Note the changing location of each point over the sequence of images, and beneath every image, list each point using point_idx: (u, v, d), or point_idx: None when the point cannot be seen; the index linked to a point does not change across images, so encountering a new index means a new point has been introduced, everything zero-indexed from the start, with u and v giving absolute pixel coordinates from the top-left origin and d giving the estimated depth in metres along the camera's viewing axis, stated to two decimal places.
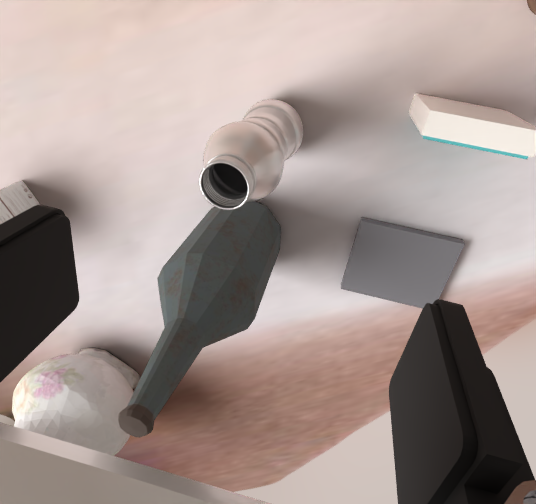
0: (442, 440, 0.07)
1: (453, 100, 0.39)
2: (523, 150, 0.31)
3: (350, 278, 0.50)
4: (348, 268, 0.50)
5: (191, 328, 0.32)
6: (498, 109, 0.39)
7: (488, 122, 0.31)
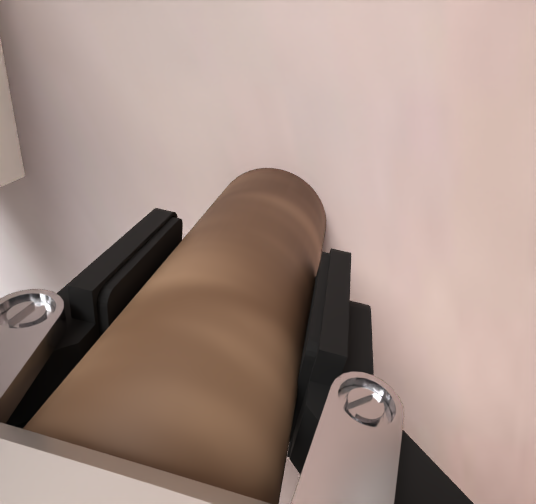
0: (303, 351, 0.08)
1: None
2: None
3: None
4: None
5: None
6: (11, 158, 0.15)
7: None
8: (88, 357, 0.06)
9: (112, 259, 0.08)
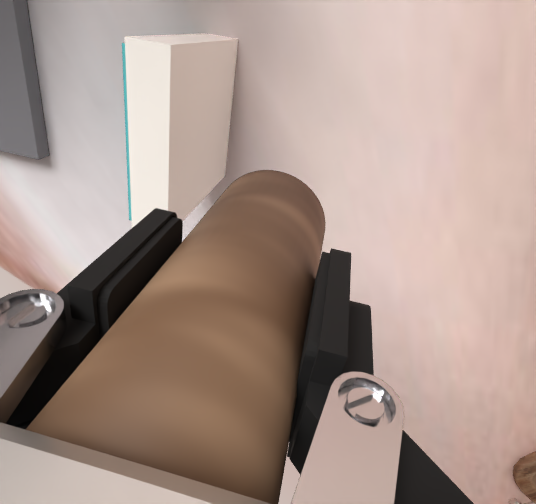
0: (303, 351, 0.08)
1: (231, 103, 0.26)
2: (137, 213, 0.20)
3: None
4: None
5: None
6: (224, 166, 0.28)
7: (166, 155, 0.18)
8: (88, 361, 0.06)
9: (112, 260, 0.08)
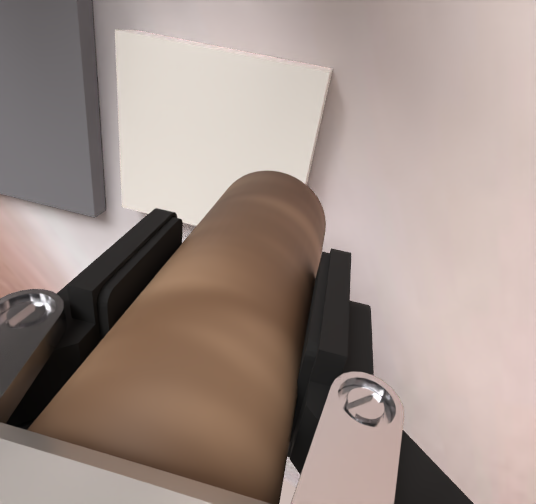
0: (303, 351, 0.08)
1: (306, 157, 0.19)
2: None
3: None
4: None
5: None
6: None
7: (119, 130, 0.20)
8: (89, 361, 0.06)
9: (112, 259, 0.08)
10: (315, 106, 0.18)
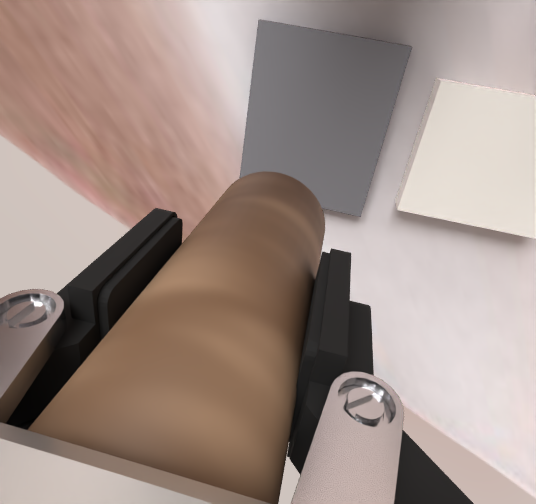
0: (303, 351, 0.08)
1: None
2: (399, 190, 0.30)
3: (284, 37, 0.26)
4: (307, 30, 0.25)
5: None
6: (534, 226, 0.28)
7: (416, 152, 0.27)
8: (88, 363, 0.06)
9: (112, 259, 0.08)
10: None
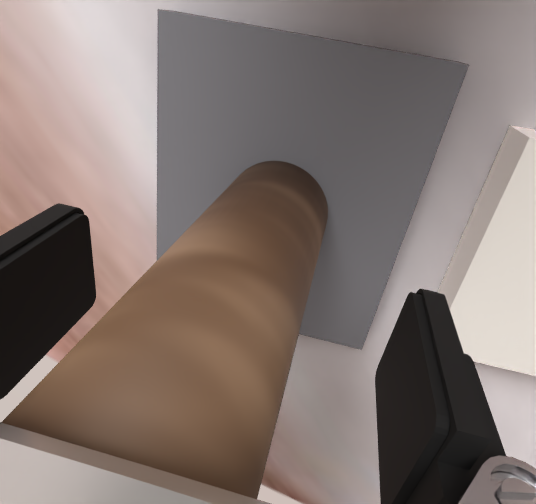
0: (419, 421, 0.07)
1: None
2: None
3: (210, 46, 0.13)
4: (254, 31, 0.13)
5: None
6: None
7: (469, 263, 0.14)
8: (115, 307, 0.07)
9: None
10: None
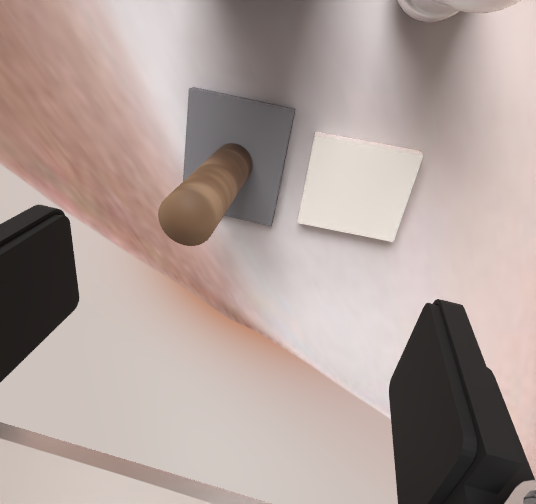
0: (442, 440, 0.07)
1: (407, 194, 0.37)
2: None
3: (207, 101, 0.37)
4: (223, 97, 0.36)
5: None
6: (390, 233, 0.40)
7: (305, 182, 0.39)
8: (192, 173, 0.31)
9: None
10: (414, 171, 0.36)
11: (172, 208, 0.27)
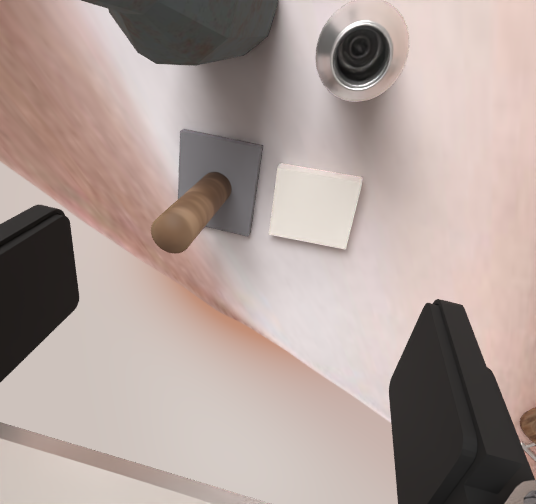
0: (442, 440, 0.07)
1: (353, 212, 0.47)
2: None
3: (194, 140, 0.47)
4: (206, 137, 0.47)
5: None
6: (342, 242, 0.49)
7: None
8: (178, 199, 0.41)
9: None
10: (356, 194, 0.46)
11: (160, 226, 0.37)
